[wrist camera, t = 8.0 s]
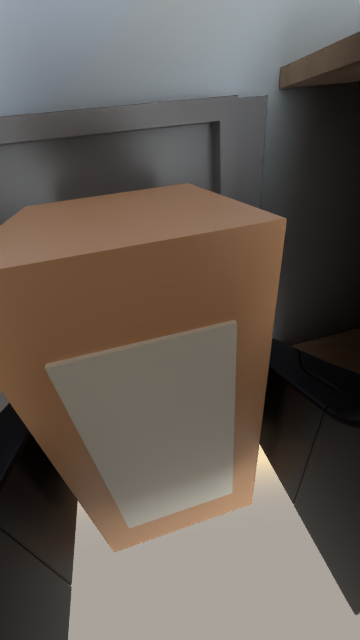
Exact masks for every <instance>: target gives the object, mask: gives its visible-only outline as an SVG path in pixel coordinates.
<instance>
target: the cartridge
mask: <svg viewBox="0 0 360 640" xmlns="http://www.w3.org/2000/svg"><path fill="white" fill-rule="evenodd" d="M286 222H287V218H284V217H281V216H279V215H276V214H273V213H270V212H267V211H265V210H262V209H259V208H256V207H254V206H251V205H248V204H245V203H242V202H240V201H237V200H234V199H231V198H228V197H226V196H223V195H220V194H217V193H215V192H212V191H209V190H206V189H203V188H201V187H198V186H195V185H192V184H189V183H184V184H177V185H170V186H163V187H156V188H149V189H142V190H135V191H128V192H121V193H115V194H108V195H101V196H94V197H87V198H80V199H73V200H66V201H59V202H52V203H45V204H38V205H31V206H26V207H24V208H23V209H22V210H20V211H19V212H18V213H16V214H15V215H14V216H12V217H11V218H10V219H8V220H7V221H6V222H4V223H3V224H2V225H0V390H1V391H2V392H3V394H4V395H5V397H6V398H7V400H8V401H9V402H10V404H11V405H12V407H13V408H14V410H15V411H16V413H17V414H18V415H19V417H20V418H21V420H22V421H23V423H24V424H25V425H26V427H27V428H28V430H29V431H30V433H31V434H32V435H33V437H34V438H35V440H36V441H37V443H38V444H39V445H40V447H41V448H42V450H43V451H44V453H45V454H46V455H47V457H48V458H49V460H50V461H51V463H52V464H53V466H54V467H55V468H56V470H57V471H58V473H59V474H60V476H61V477H62V478H63V480H64V481H65V483H66V484H67V486H68V487H69V488H70V490H71V491H72V493H73V494H74V496H75V497H76V498H77V500H78V501H79V503H80V504H81V505H82V507H83V508H84V510H85V511H86V513H87V514H88V515H89V517H90V519H91V520H92V521H93V523H94V524H95V526H96V527H97V529H98V530H99V531H100V533H101V534H102V536H103V537H104V539H105V540H106V541H107V543H108V544H109V545H110V547H111V549H112V550H113V551H114V552H117V551H120V550H123V549H126V548H128V547H131V546H134V545H137V544H139V543H142V542H145V541H148V540H150V539H154V538H156V537H159V536H162V535H165V534H168V533H171V532H174V531H176V530H179V529H182V528H185V527H187V526H190V525H193V524H196V523H199V522H202V521H205V520H207V519H210V518H213V517H216V516H219V515H222V514H224V513H227V512H230V511H233V510H235V509H238V508H241V507H244V506H247V505H250V504H252V497H253V490H254V482H255V474H256V466H257V458H258V450H259V442H260V434H261V425H262V417H263V409H264V401H265V393H266V385H267V377H268V369H269V360H270V352H271V344H272V336H273V328H274V320H275V312H276V303H277V295H278V287H279V279H280V271H281V263H282V255H283V247H284V238H285V230H286Z"/></svg>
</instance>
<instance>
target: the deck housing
mask: <svg viewBox="0 0 360 640" xmlns="http://www.w3.org/2000/svg"><path fill="white" fill-rule="evenodd" d="M358 81H360V32H358V33H355V34H353V35H351V36H349V37H347V38H345V39H342V40H340V41H338V42H336V43H334V44H331V45H329V46H327V47H325V48H323V49H321V50H318V51H316V52H314V53H312V54H310V55H308V56H305V57H303V58H301V59H299V60H297V61H294V62H292V63H290V64H288V65H286V66H284V67H281V71H280V83H279V89H280V88H291V87H303V86H314V85H325V84H336V83H347V82H358ZM292 347H295V348H297V349H299V350H300V351H304V352H306V353H309V354H311V355H313V356H316V357H318V358H320V359H323V360H325V361H328V362H330V363H333V364H335V365H338V366H341V367H343V368H346V369H349V370H351V371H354V372H357V373H360V328H357V329H354V330H350V331H346V332H342V333H338V334H334V335H331V336H327V337H323V338H319V339H315V340H311V341H307V342H304V343H300V344H296V345H292Z"/></svg>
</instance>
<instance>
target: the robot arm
mask: <svg viewBox="0 0 360 640" xmlns="http://www.w3.org/2000/svg"><path fill="white" fill-rule="evenodd" d="M259 444H260V445H261V447H262V449H263V451H264V453H265V454H266V456H267V458H268V460H269V462H270V463H271V465H272V467H273V469H274V470H275V472H276V474H277V476H278V478H279V480H280V481H281V483H282V485H283V487H284V488H285V490H286V492H287V494H288V496H289V497H290V499H291V501H292V503H293V504H294V507H295V508H296V510H297V512H298V514H299V516H300V517H301V519H302V521H303V523H304V524H305V526H306V528H307V530H308V532H309V534H310V535H311V537H312V539H313V541H314V543H315V544H316V546H317V548H318V550H319V551H320V553H321V555H322V557H323V559H324V560H325V562H326V564H327V566H328V568H329V569H330V571H331V573H332V575H333V577H334V579H335V580H336V582H337V584H338V586H339V587H340V589H341V591H342V593H343V595H344V596H345V598H346V600H347V602H348V604H349V605H350V607H351V608H352V610H353V612H354V614H355V615H358V614H360V373H357V372H354V371H351V370H349V369H346V368H343V367H341V366H338V365H335V364H333V363H330V362H328V361H325V360H323V359H320V358H318V357H316V356H313V355H311V354H309V353H306V352H304V351H300V350H299V349H297V348H295V347H292V346H290V345H288V344H286V343H283V342H281V341H279V340H277V339H274V338H272V344H271V352H270V360H269V369H268V377H267V385H266V393H265V401H264V409H263V417H262V425H261V434H260V442H259ZM77 502H78V500H77V498H76V497H75V496H74V494H73V493H72V491H71V490H70V488H69V487H68V486H67V484H66V483H65V481H64V480H63V478H62V477H61V476H60V474H59V473H58V471H57V470H56V468H55V467H54V466H53V464H52V463H51V461H50V460H49V458H48V457H47V455H46V454H45V453H44V451H43V450H42V448H41V447H40V445H39V444H38V443H37V441H36V440H35V438H34V437H33V435H32V434H31V433H30V431H29V430H28V428H27V427H26V425H25V424H24V423H23V421H22V420H21V418H20V417H19V415H18V414H17V413H16V411H15V410H14V408H13V407H12V405H11V404H10V402H9V403H8V404H7V406H6V407H5V408H4V409H3V410H2V411H1V412H0V640H68V629H69V615H70V601H71V586H70V585H71V583H72V571H73V558H74V543H75V529H76V516H77V515H76V514H77Z"/></svg>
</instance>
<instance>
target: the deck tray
mask: <svg viewBox="0 0 360 640" xmlns="http://www.w3.org/2000/svg"><path fill="white" fill-rule="evenodd" d="M267 99H268V95H267V96H256V97H245V98H238V95H233V96H222V97H211V98H200V99H189V100H178V101H167V102H156V103H145V104H134V105H123V106H112V107H101V108H90V109H79V110H68V111H57V112H47V113H36V114H25V115H14V116H3V117H0V225H2V224H3V223H4V222H6V221H7V220H8V219H10V218H11V217H12V216H14V215H15V214H16V213H18V212H19V211H20V210H22V209H23V208H24V207H26V206H31V205H38V204H45V203H52V202H59V201H66V200H73V199H80V198H87V197H94V196H101V195H108V194H115V193H121V192H128V191H135V190H142V189H149V188H156V187H163V186H170V185H177V184H184V183H189V184H192V185H195V186H198V187H201V188H203V189H206V190H209V191H212V192H215V193H217V194H220V195H223V196H226V197H228V198H231V199H234V200H237V201H240V202H242V203H245V204H248V205H251V206H254V207H256V208H259V209H260V203H261V188H262V173H263V158H264V143H265V129H266V114H267ZM8 403H9V401H8V400H7V398H6V397H5V395H4V394H3V392H2V391H1V390H0V412H1V411H2V410H3V409H4V408H5V407H6V406H7V404H8Z"/></svg>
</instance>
